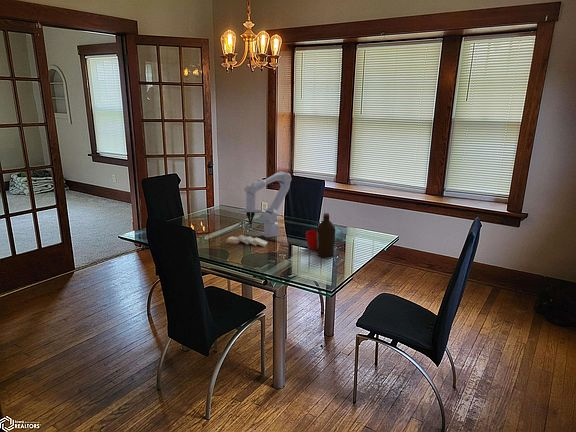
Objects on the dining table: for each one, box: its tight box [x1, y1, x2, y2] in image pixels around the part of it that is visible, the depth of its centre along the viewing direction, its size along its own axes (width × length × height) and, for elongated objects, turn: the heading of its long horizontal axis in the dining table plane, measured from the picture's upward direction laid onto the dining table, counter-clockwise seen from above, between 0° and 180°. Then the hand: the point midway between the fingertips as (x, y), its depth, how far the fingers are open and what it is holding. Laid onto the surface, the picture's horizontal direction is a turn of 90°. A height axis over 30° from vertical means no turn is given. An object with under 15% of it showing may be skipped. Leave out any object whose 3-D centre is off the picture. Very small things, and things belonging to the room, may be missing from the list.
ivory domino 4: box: [253, 236, 269, 248], centre depth 254 cm, size 2×5×8 cm
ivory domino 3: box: [245, 235, 259, 247], centre depth 256 cm, size 2×5×8 cm
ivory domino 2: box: [237, 234, 251, 245], centre depth 258 cm, size 2×5×8 cm
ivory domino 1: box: [226, 236, 241, 244], centre depth 260 cm, size 2×5×8 cm
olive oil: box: [316, 212, 336, 259], centre depth 233 cm, size 11×11×25 cm
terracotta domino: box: [225, 240, 242, 245], centre depth 259 cm, size 2×5×8 cm
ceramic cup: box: [305, 229, 317, 252], centre depth 248 cm, size 13×17×10 cm
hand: (250, 223), depth 263 cm, fingers closed
